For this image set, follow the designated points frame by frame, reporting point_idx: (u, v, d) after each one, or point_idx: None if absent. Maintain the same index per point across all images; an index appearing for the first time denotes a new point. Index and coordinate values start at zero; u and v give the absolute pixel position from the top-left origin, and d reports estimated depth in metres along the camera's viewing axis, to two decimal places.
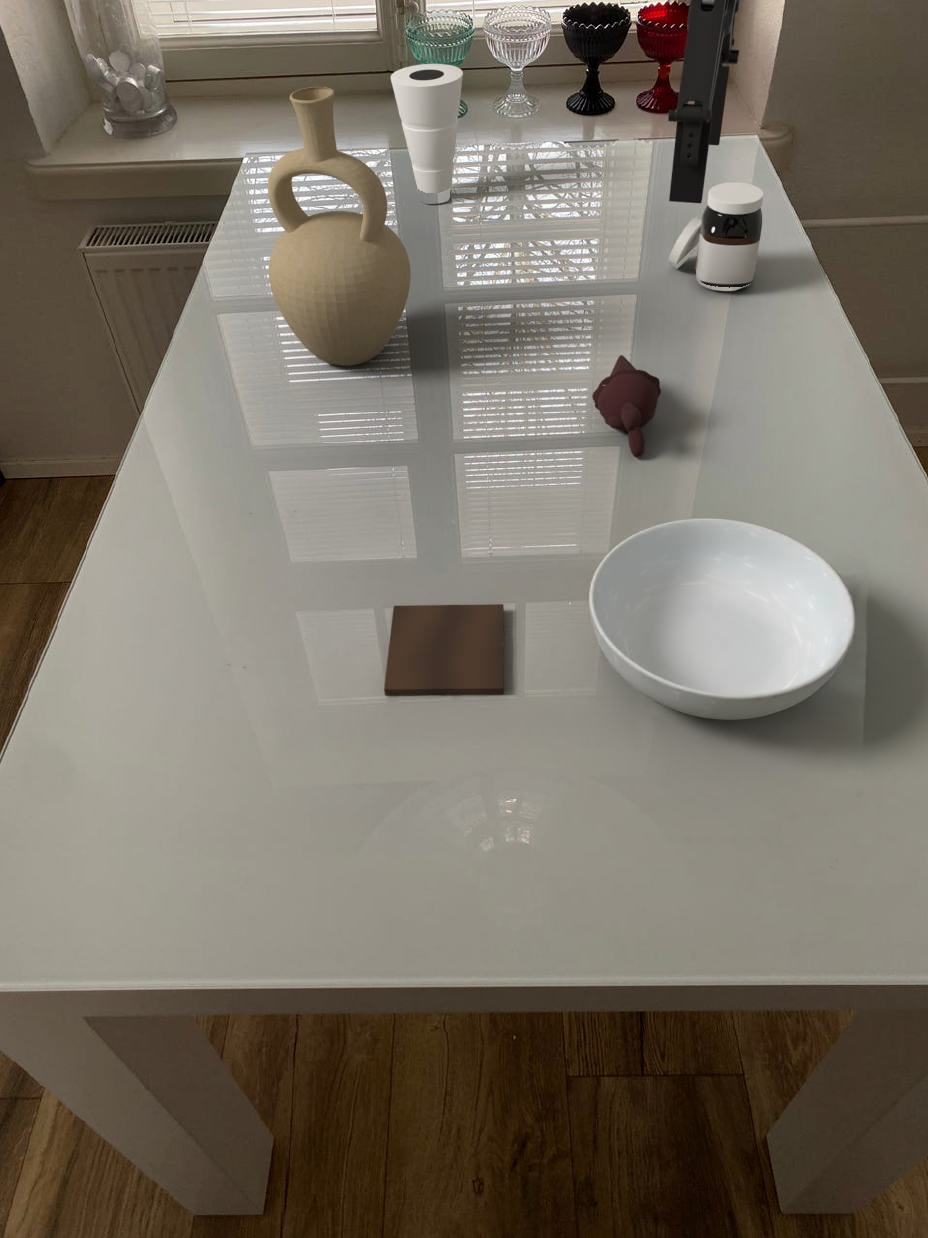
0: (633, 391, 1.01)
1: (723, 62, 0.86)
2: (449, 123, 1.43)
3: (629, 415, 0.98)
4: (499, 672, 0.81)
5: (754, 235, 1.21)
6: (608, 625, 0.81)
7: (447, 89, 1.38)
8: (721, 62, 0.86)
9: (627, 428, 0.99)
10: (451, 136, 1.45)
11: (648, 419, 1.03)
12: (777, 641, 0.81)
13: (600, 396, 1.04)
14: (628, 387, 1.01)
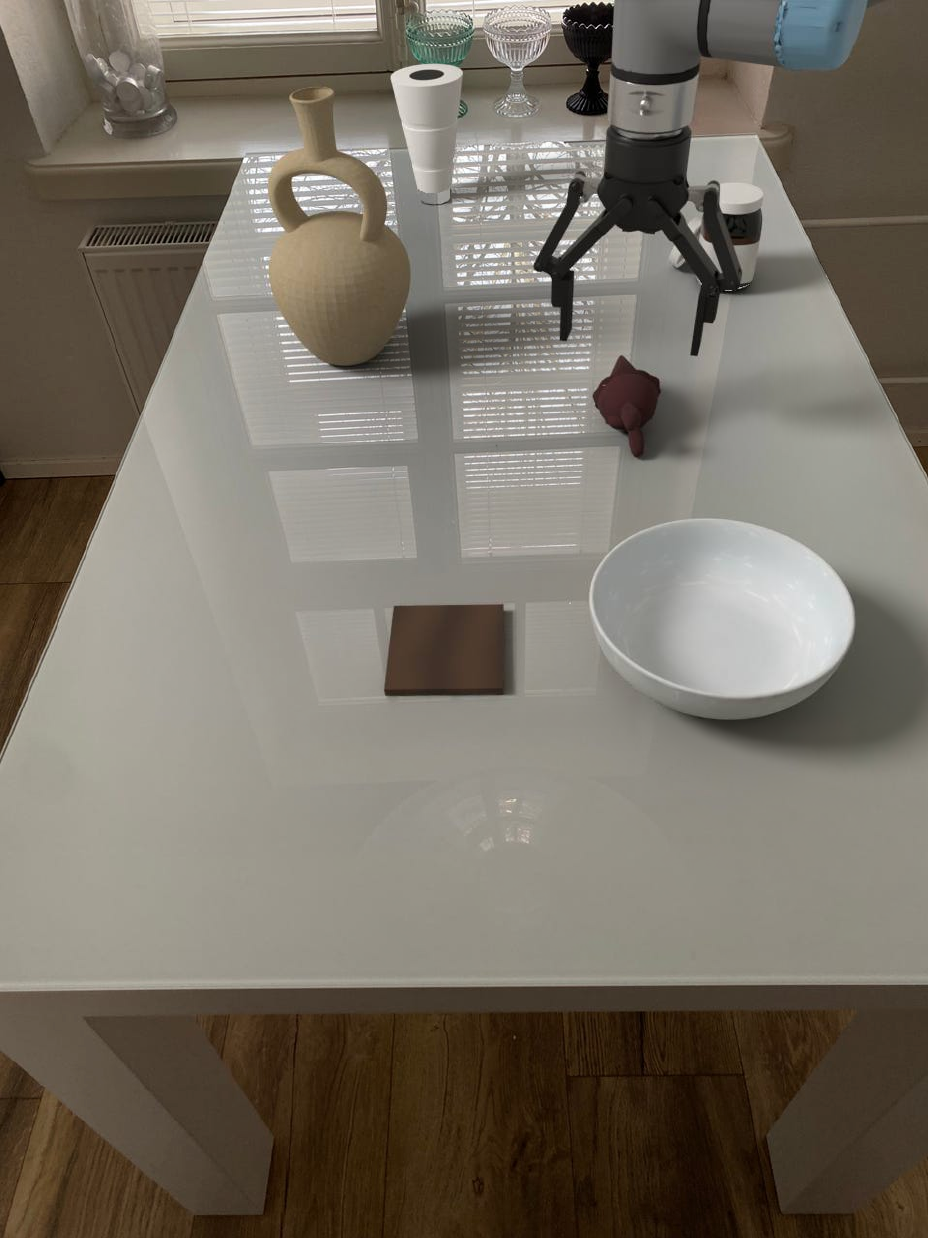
0: (633, 391, 1.01)
1: None
2: (449, 123, 1.43)
3: (629, 415, 0.98)
4: (499, 672, 0.81)
5: (754, 235, 1.21)
6: (608, 625, 0.81)
7: (447, 89, 1.38)
8: None
9: (627, 428, 0.99)
10: (451, 136, 1.45)
11: (648, 419, 1.03)
12: (777, 640, 0.81)
13: (600, 396, 1.04)
14: (628, 387, 1.01)
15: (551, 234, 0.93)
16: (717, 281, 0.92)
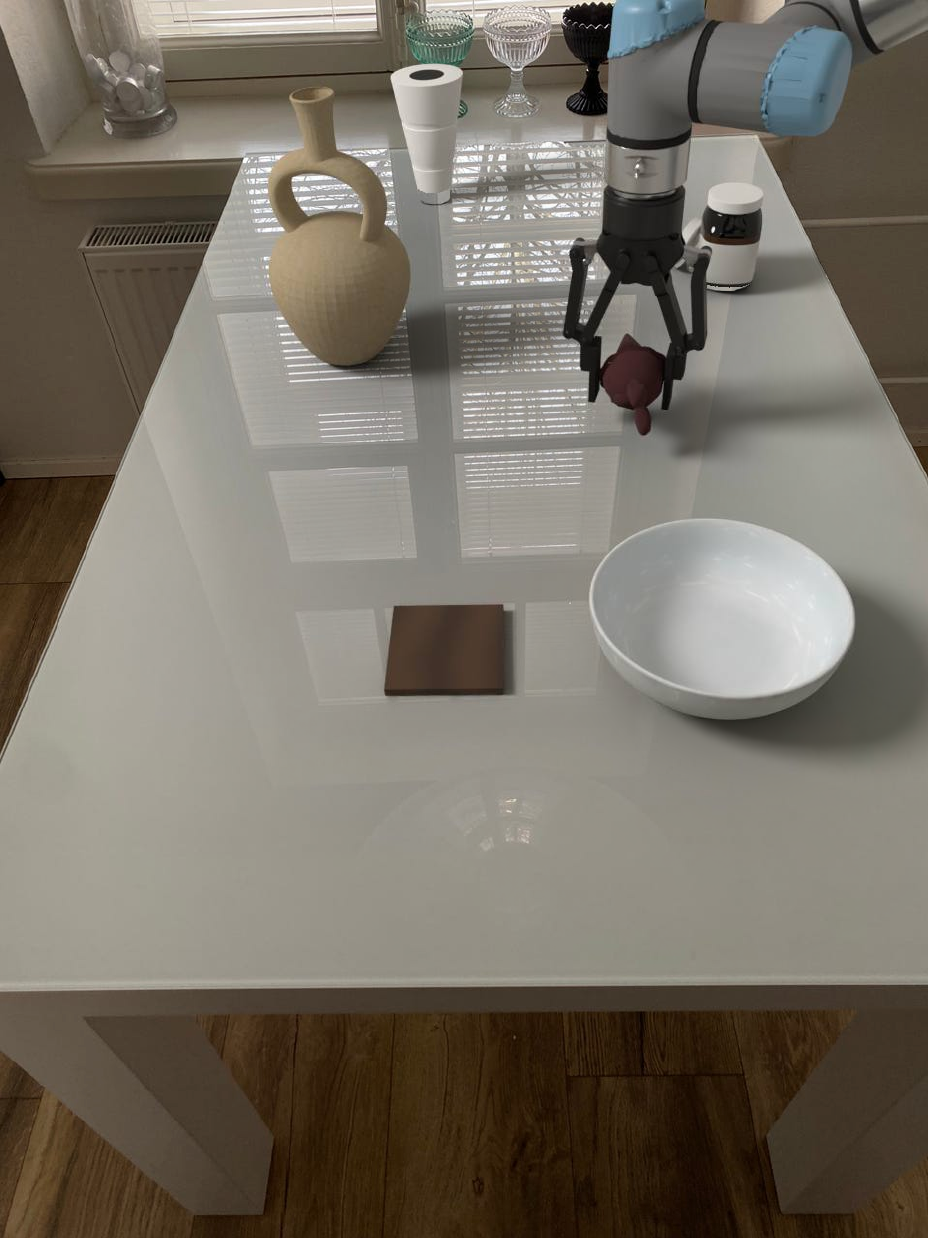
0: (639, 368, 0.99)
1: None
2: (449, 123, 1.43)
3: (635, 391, 0.96)
4: (499, 672, 0.81)
5: (754, 235, 1.21)
6: (608, 625, 0.81)
7: (447, 89, 1.38)
8: None
9: (633, 405, 0.97)
10: (451, 136, 1.45)
11: (655, 397, 1.01)
12: (777, 640, 0.81)
13: (605, 374, 1.01)
14: (634, 364, 0.99)
15: (569, 302, 0.97)
16: (685, 343, 0.97)
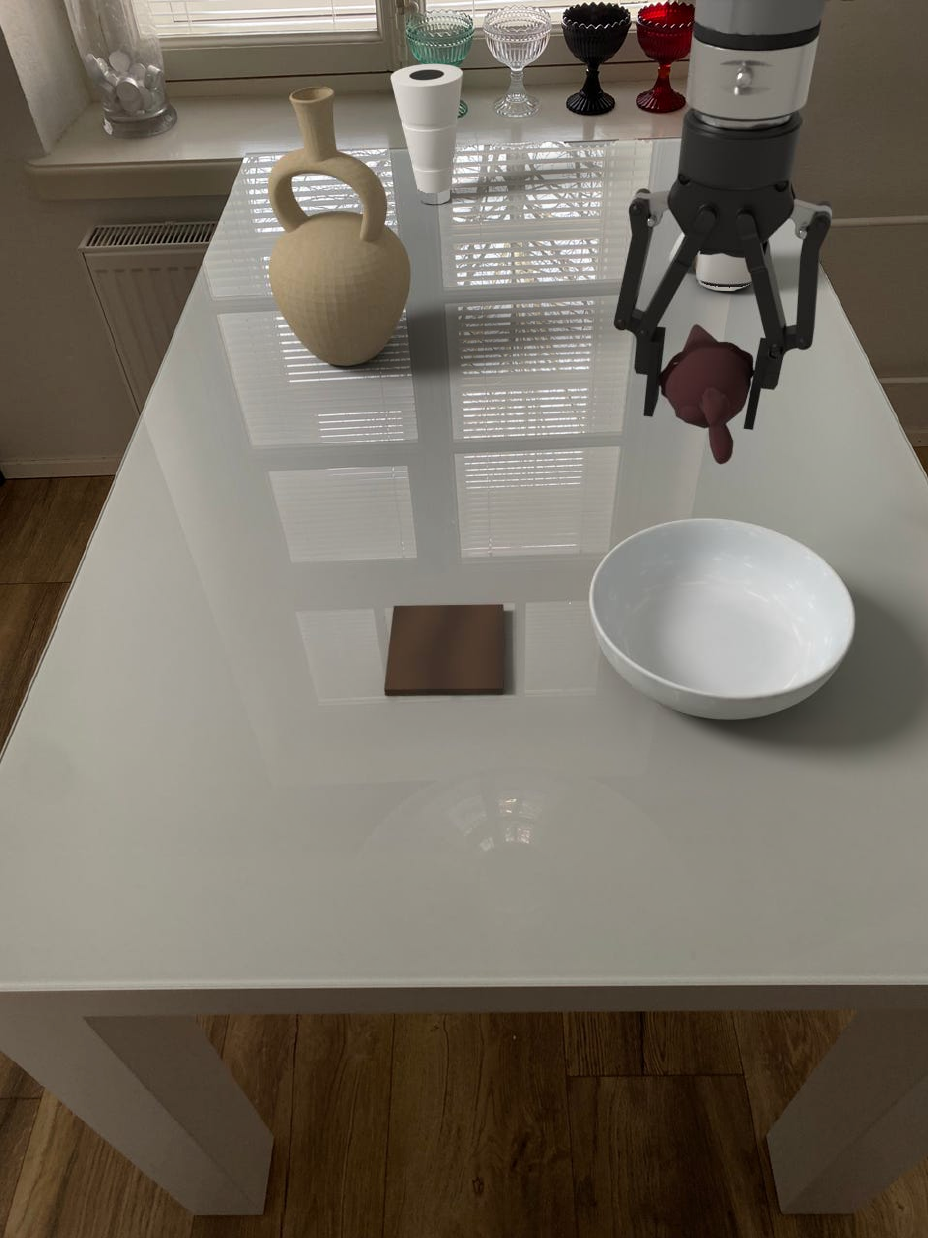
0: (719, 372, 0.72)
1: None
2: (449, 123, 1.43)
3: (714, 404, 0.69)
4: (499, 672, 0.81)
5: None
6: (608, 625, 0.81)
7: (447, 89, 1.38)
8: None
9: (711, 423, 0.70)
10: (451, 136, 1.45)
11: (737, 411, 0.74)
12: (777, 640, 0.81)
13: (670, 378, 0.75)
14: (711, 366, 0.72)
15: (625, 279, 0.71)
16: (784, 339, 0.70)
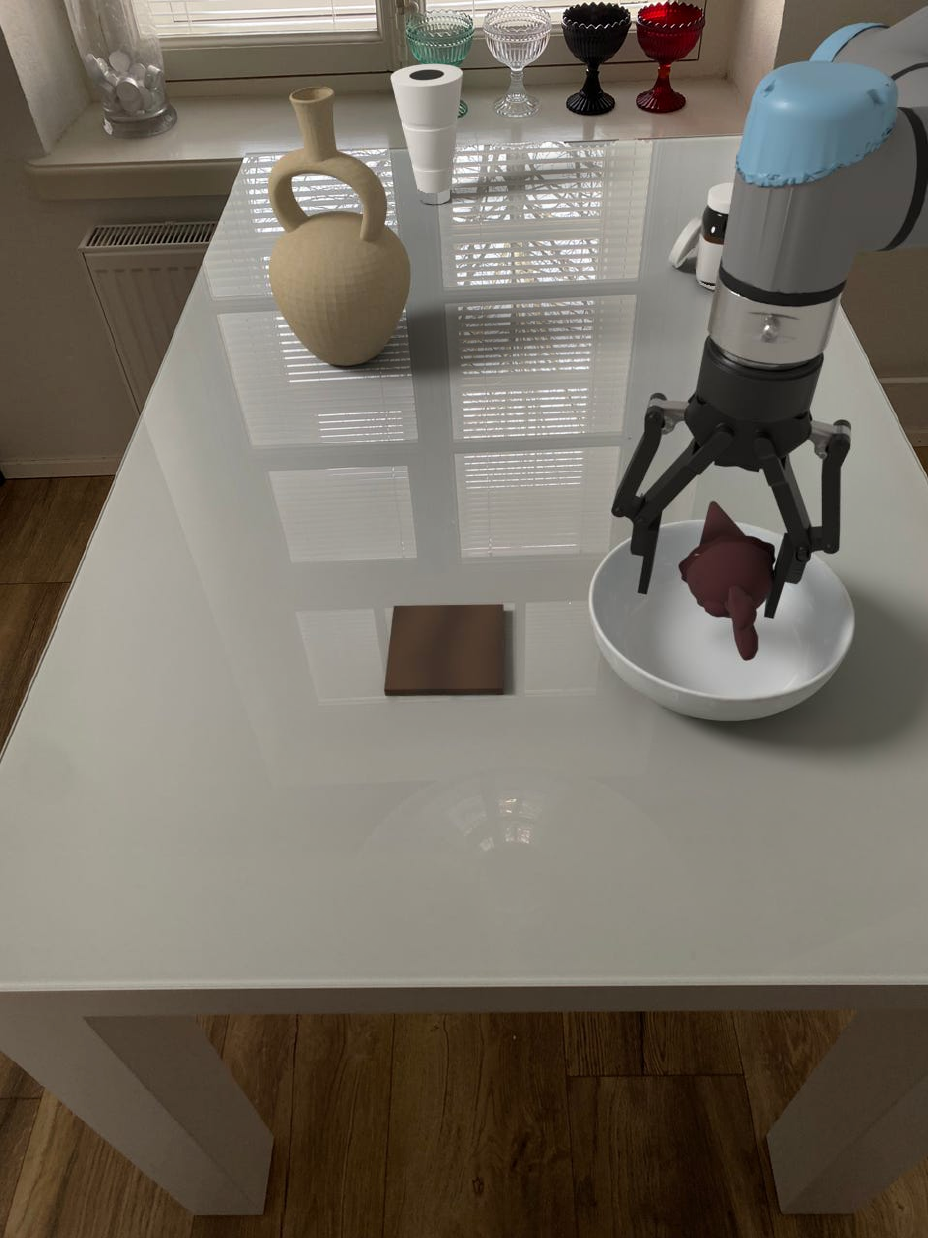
0: (743, 570, 0.71)
1: None
2: (449, 123, 1.43)
3: (741, 611, 0.69)
4: (499, 672, 0.81)
5: None
6: (607, 627, 0.81)
7: (447, 89, 1.38)
8: None
9: (738, 628, 0.69)
10: (451, 136, 1.45)
11: (761, 604, 0.73)
12: (776, 642, 0.81)
13: (692, 570, 0.74)
14: (735, 563, 0.71)
15: (629, 474, 0.70)
16: (810, 542, 0.70)
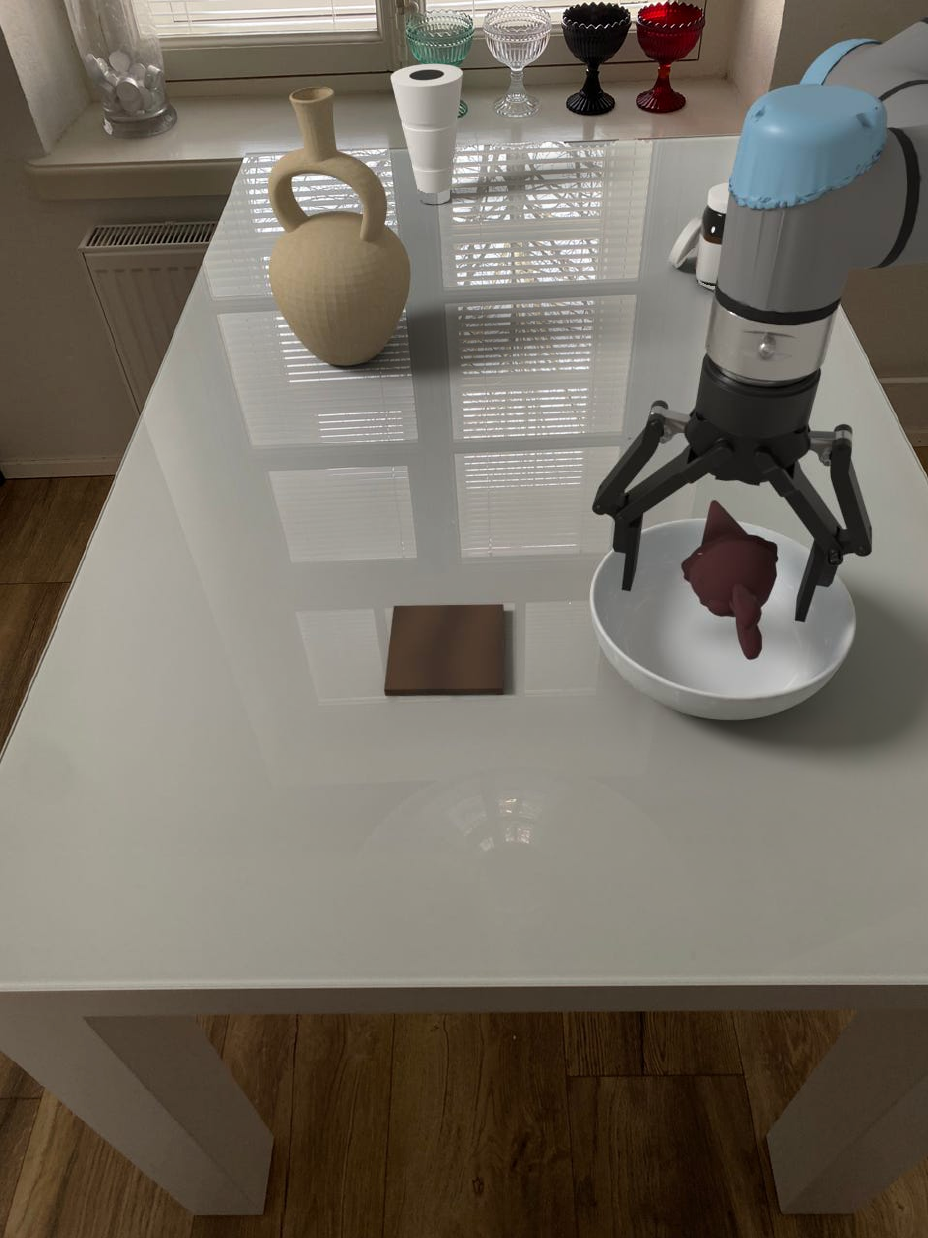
0: (747, 569, 0.71)
1: None
2: (449, 123, 1.43)
3: (746, 610, 0.68)
4: (499, 672, 0.81)
5: None
6: (608, 624, 0.81)
7: (447, 89, 1.38)
8: None
9: (743, 627, 0.69)
10: (451, 136, 1.45)
11: (764, 603, 0.73)
12: (776, 641, 0.81)
13: (695, 569, 0.74)
14: (738, 562, 0.71)
15: (618, 475, 0.70)
16: (840, 543, 0.69)
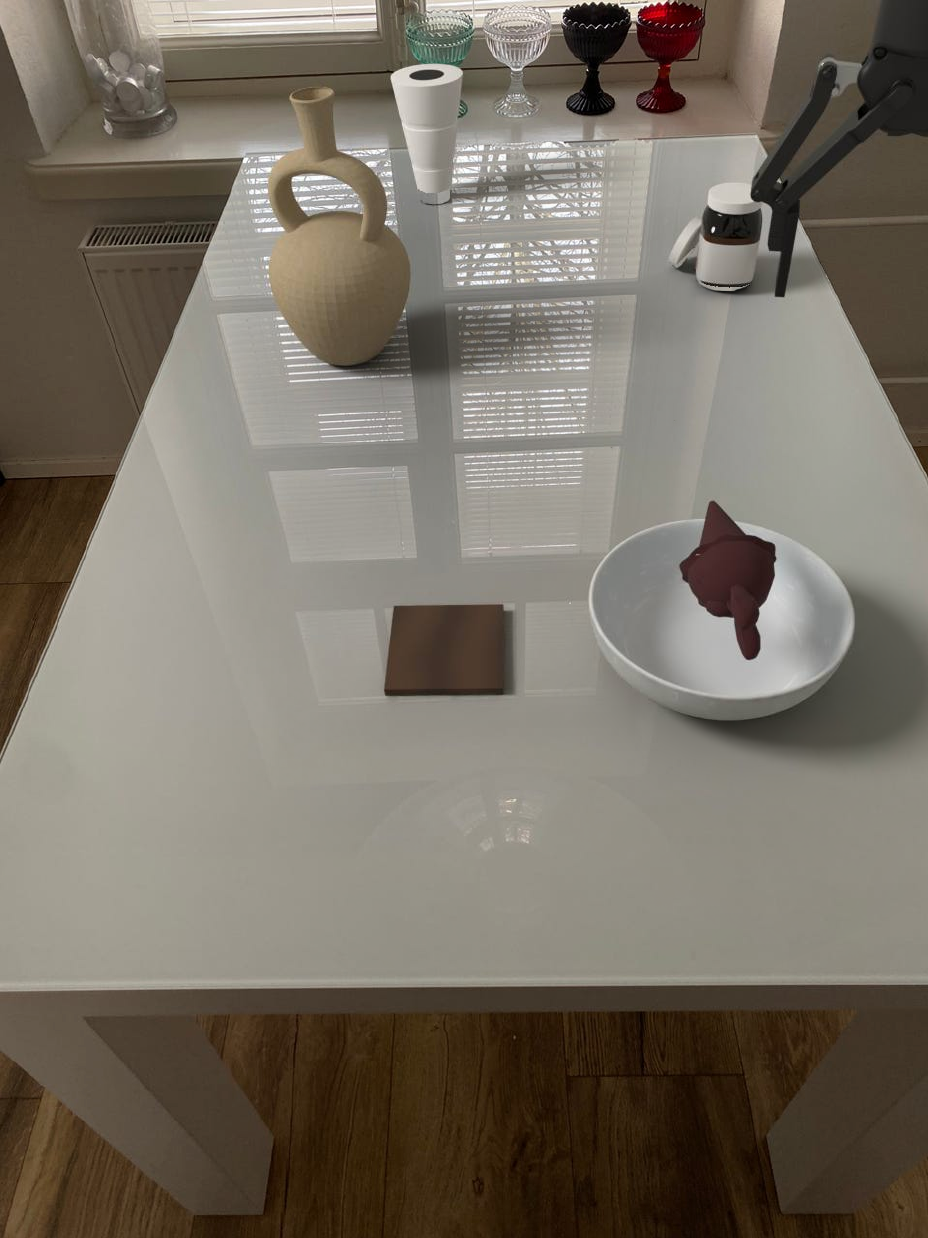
0: (745, 569, 0.71)
1: None
2: (449, 123, 1.43)
3: (744, 610, 0.68)
4: (499, 672, 0.81)
5: (754, 235, 1.21)
6: (607, 626, 0.81)
7: (447, 89, 1.38)
8: None
9: (741, 628, 0.69)
10: (451, 136, 1.45)
11: (762, 603, 0.73)
12: (776, 641, 0.81)
13: (693, 570, 0.74)
14: (736, 562, 0.71)
15: (782, 146, 0.68)
16: None
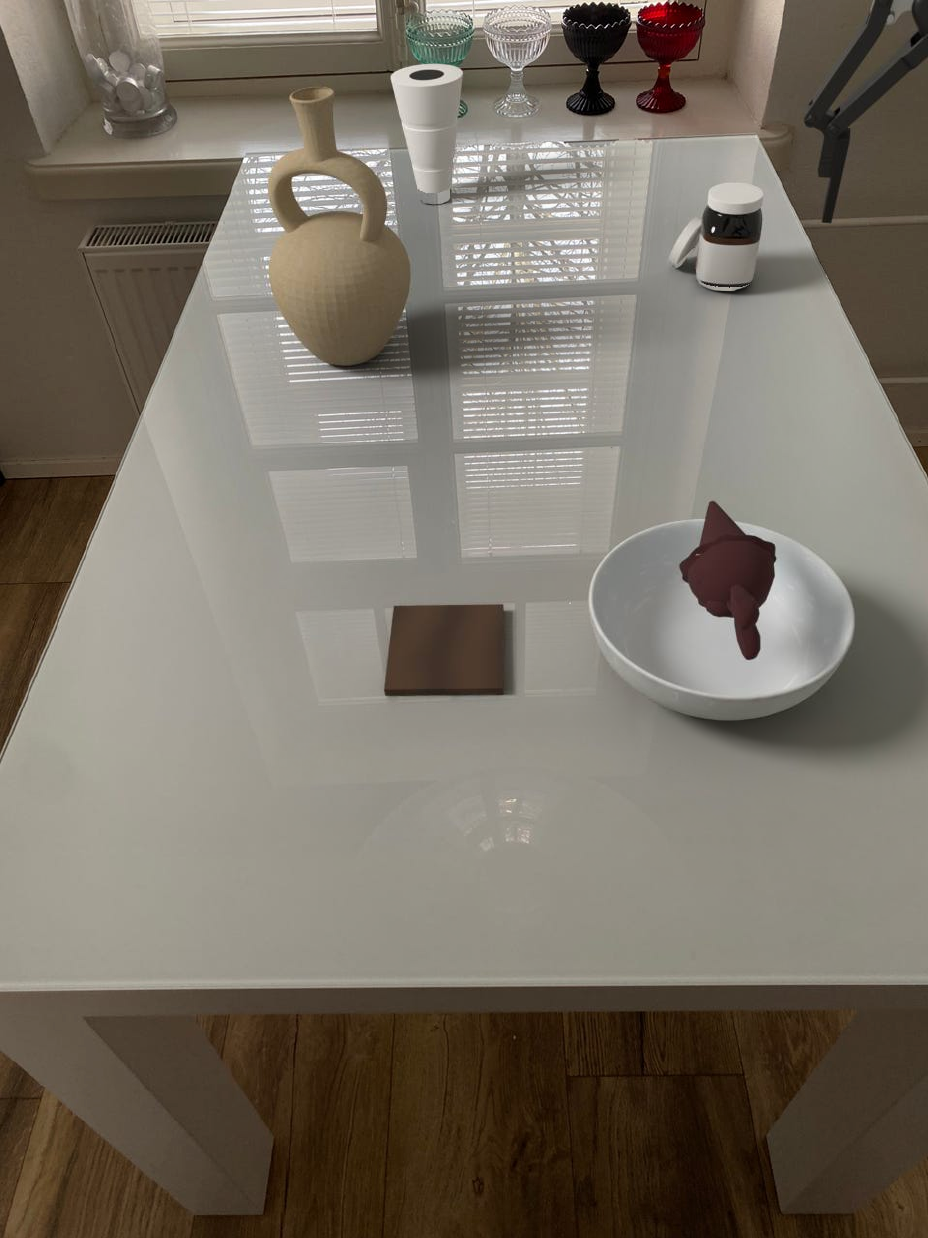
0: (745, 569, 0.71)
1: None
2: (449, 123, 1.43)
3: (744, 610, 0.68)
4: (499, 672, 0.81)
5: (754, 235, 1.21)
6: (607, 626, 0.81)
7: (447, 89, 1.38)
8: None
9: (741, 628, 0.69)
10: (451, 136, 1.45)
11: (762, 603, 0.73)
12: (776, 641, 0.81)
13: (693, 570, 0.74)
14: (736, 563, 0.71)
15: (837, 72, 0.72)
16: None
